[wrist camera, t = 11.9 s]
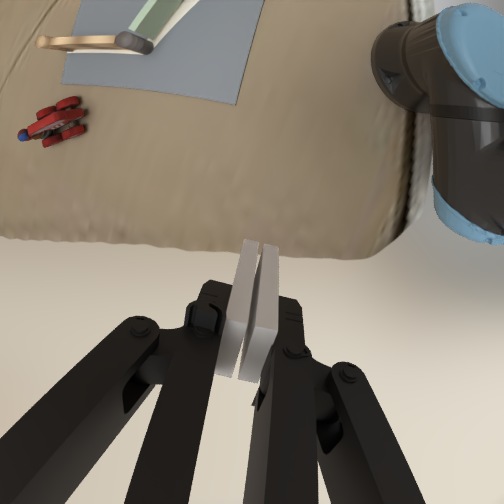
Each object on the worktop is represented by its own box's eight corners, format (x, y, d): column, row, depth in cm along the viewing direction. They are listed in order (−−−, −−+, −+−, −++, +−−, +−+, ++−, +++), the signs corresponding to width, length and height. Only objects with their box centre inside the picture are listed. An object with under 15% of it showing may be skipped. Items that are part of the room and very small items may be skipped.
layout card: (270, -20, 35) (270, -22, 34) (235, 105, 44) (235, 104, 44) (91, -26, 34) (90, -26, 33) (62, 83, 43) (60, 83, 43)
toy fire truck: (38, 115, 46) (1, 121, 36) (88, 92, 44) (52, 93, 35) (45, 149, 48) (9, 160, 39) (95, 129, 47) (60, 137, 37)
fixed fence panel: (156, 42, 40) (129, 29, 31) (152, 55, 41) (125, 46, 32) (71, 41, 39) (36, 34, 30) (68, 53, 41) (33, 49, 31)
